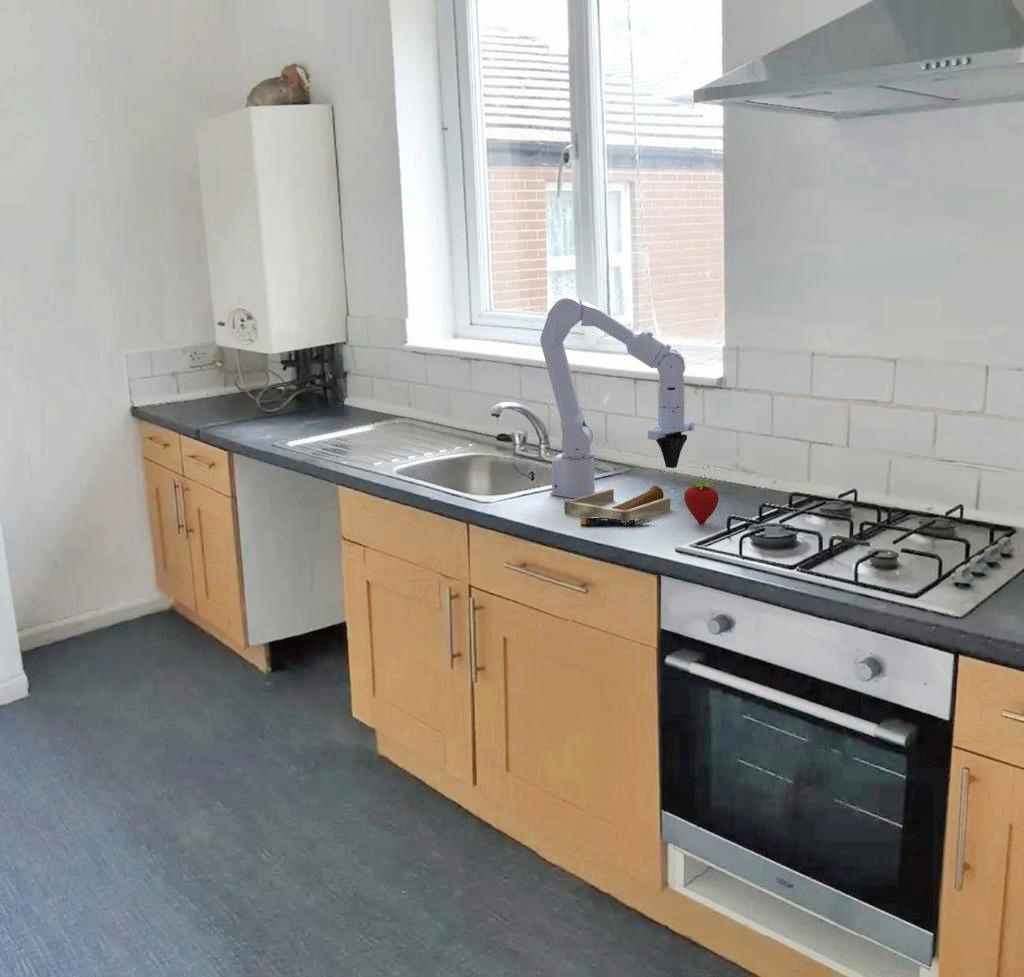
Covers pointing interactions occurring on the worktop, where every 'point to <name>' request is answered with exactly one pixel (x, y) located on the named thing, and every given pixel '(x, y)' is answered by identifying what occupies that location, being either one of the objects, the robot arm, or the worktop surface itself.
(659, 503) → the box
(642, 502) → the primitive tool
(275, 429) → the worktop surface
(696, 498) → the strawberry
